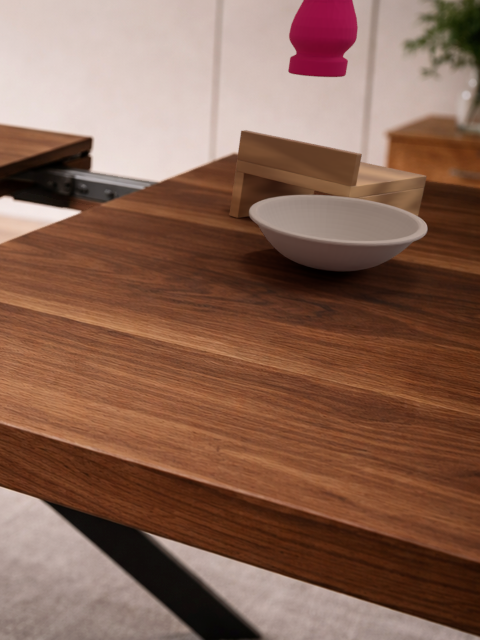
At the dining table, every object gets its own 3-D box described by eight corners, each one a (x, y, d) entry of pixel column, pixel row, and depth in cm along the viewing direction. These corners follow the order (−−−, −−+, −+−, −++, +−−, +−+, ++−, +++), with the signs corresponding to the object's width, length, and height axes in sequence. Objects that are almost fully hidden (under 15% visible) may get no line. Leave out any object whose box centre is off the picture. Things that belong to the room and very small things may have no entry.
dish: (405, 316, 73) (418, 254, 71) (219, 283, 79) (227, 225, 78) (423, 261, 88) (434, 208, 86) (265, 237, 94) (272, 187, 92)
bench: (303, 204, 108) (316, 124, 105) (414, 234, 97) (433, 145, 94) (229, 215, 102) (240, 130, 99) (339, 248, 91) (356, 154, 88)
